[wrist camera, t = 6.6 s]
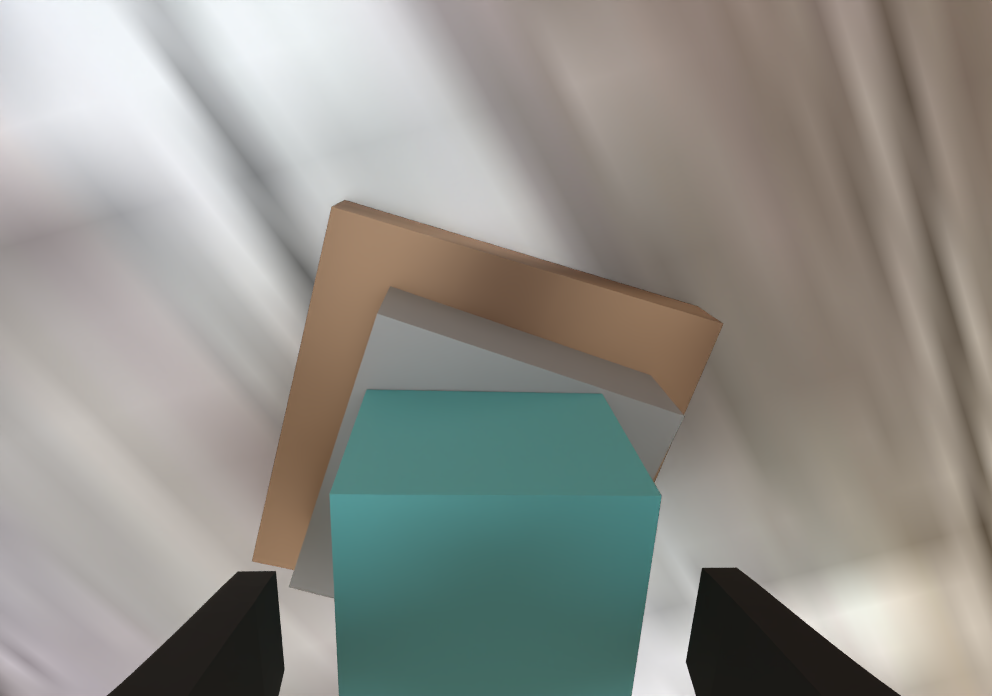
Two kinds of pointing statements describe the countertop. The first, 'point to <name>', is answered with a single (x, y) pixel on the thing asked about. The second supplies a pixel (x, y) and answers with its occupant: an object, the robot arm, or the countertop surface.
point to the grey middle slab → (483, 368)
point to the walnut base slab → (464, 286)
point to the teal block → (490, 546)
